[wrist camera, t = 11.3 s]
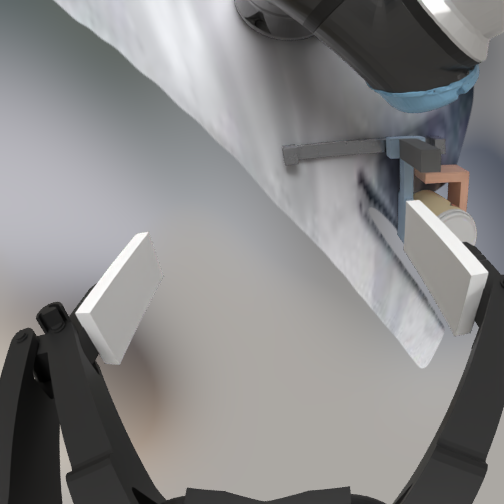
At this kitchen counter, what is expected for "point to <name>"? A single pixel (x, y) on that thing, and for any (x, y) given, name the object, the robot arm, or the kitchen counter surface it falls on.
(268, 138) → the kitchen counter surface
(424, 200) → the coffee cup
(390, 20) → the robot arm
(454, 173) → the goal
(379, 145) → the rail
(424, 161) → the pusher
